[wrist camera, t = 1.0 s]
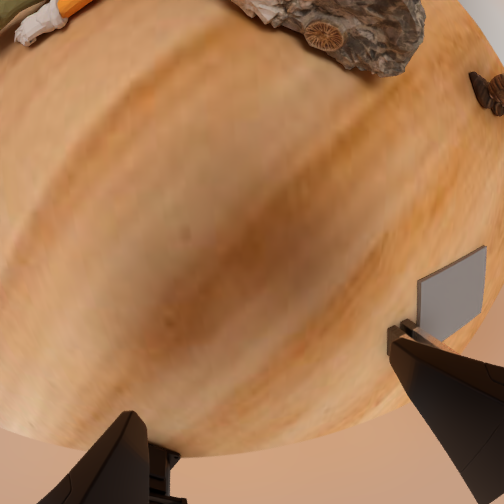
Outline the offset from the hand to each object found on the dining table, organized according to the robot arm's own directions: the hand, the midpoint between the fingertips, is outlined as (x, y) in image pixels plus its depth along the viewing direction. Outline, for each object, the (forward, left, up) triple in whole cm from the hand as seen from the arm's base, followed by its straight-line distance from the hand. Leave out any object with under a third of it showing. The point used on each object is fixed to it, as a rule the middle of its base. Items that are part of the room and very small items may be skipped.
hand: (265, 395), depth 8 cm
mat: (+10, -26, -13) cm, 31 cm away
